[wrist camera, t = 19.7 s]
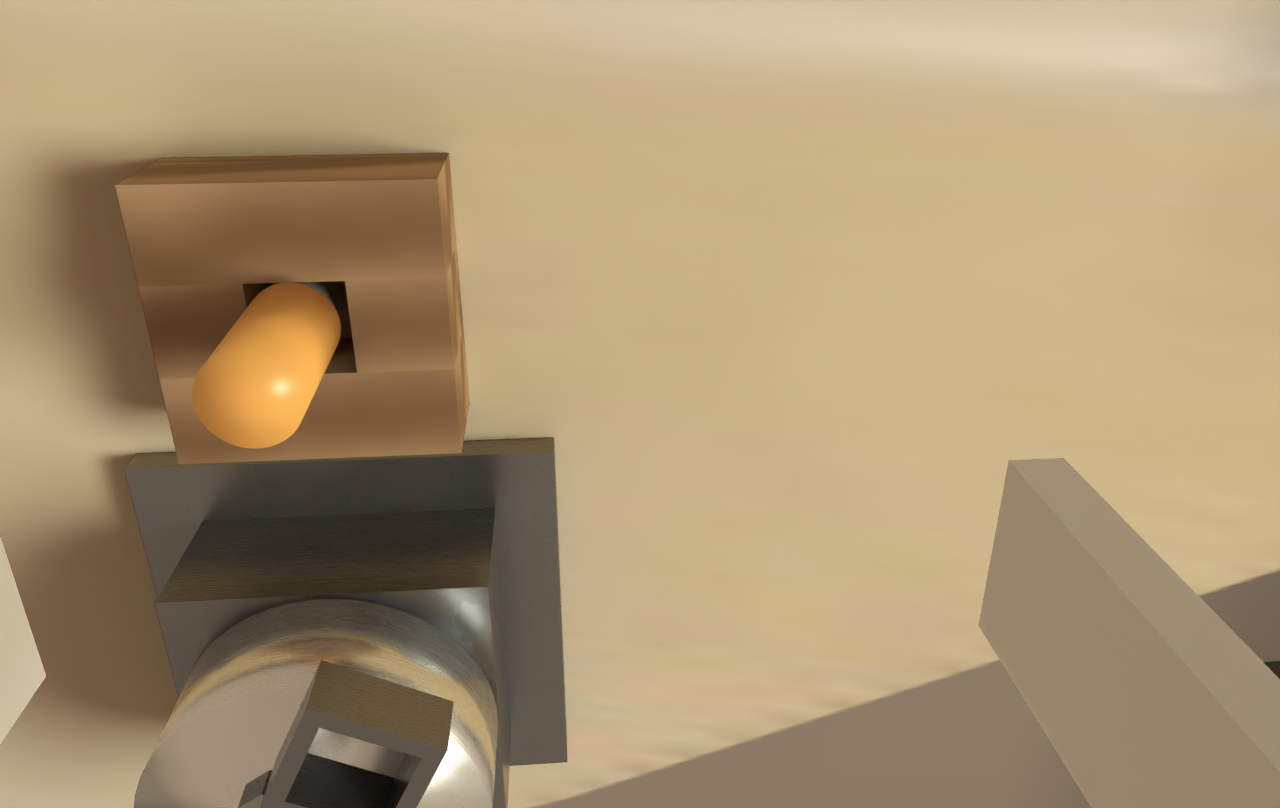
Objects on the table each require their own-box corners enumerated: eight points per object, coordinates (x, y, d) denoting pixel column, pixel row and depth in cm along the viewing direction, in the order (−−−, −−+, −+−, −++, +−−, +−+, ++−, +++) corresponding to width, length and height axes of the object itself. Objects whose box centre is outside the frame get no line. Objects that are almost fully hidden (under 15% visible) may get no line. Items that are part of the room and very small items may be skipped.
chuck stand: (136, 453, 48) (62, 546, 40) (553, 437, 49) (555, 524, 42) (213, 764, 56) (164, 886, 49) (566, 742, 58) (569, 858, 51)
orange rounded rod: (269, 248, 43) (180, 354, 32) (353, 243, 43) (293, 346, 32) (284, 326, 44) (205, 452, 34) (366, 321, 45) (313, 444, 34)
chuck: (245, 534, 41) (172, 679, 33) (557, 641, 44) (559, 793, 36) (144, 788, 46) (61, 964, 38) (431, 864, 49) (408, 1039, 42)
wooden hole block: (161, 158, 42) (114, 185, 37) (448, 153, 43) (437, 179, 38) (214, 413, 47) (178, 464, 43) (469, 404, 48) (461, 453, 43)
